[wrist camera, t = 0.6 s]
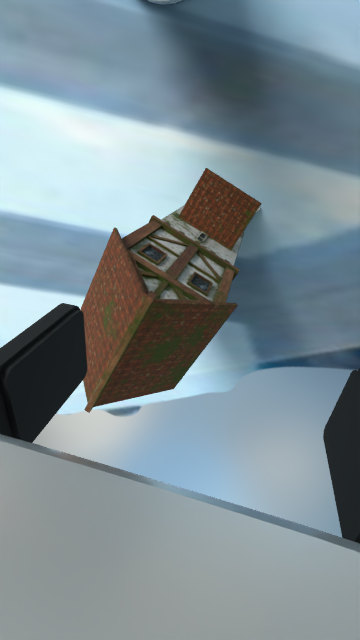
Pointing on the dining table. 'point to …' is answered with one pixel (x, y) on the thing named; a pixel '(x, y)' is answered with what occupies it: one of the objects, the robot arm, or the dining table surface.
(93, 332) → the model building
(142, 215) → the dining table surface
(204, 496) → the robot arm
